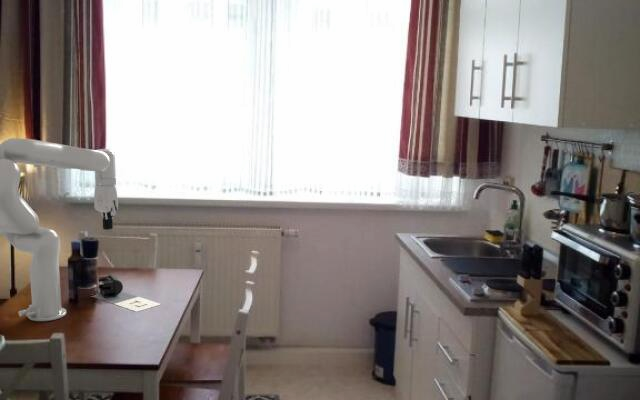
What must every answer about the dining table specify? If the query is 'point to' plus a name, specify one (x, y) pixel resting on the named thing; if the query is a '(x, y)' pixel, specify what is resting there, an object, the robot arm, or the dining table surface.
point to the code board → (137, 304)
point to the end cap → (110, 286)
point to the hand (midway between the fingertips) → (107, 228)
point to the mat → (116, 297)
